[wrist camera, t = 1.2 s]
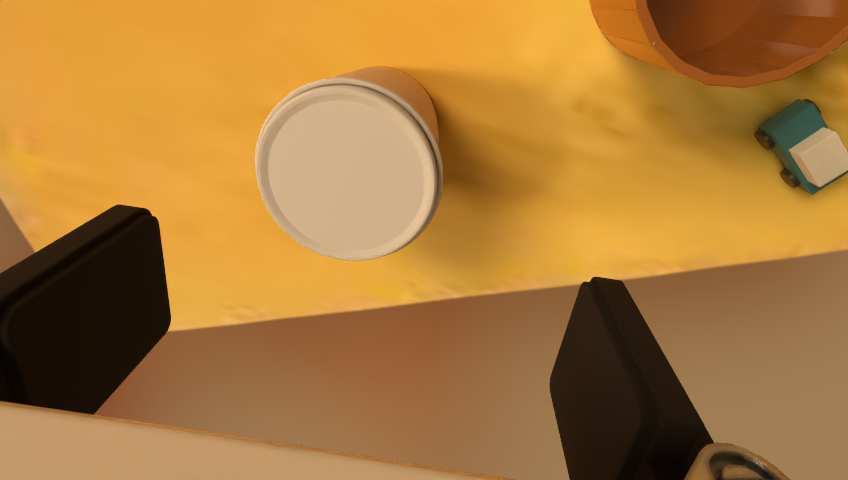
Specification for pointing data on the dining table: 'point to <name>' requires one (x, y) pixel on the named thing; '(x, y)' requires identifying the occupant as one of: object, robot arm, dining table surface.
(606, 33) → the tumbler
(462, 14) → the dining table surface
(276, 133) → the coffee cup
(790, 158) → the toy car
